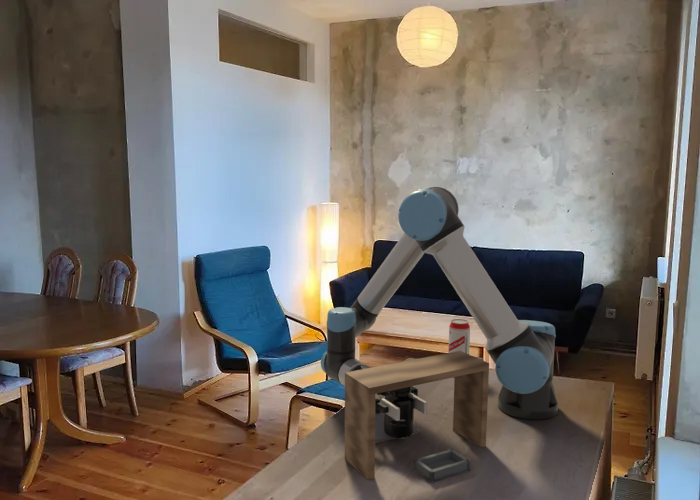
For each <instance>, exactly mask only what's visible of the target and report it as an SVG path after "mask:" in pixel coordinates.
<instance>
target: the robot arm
mask: <svg viewBox="0 0 700 500" xmlns="http://www.w3.org/2000/svg"><path fill="white" fill-rule="evenodd" d="M459 212H460V210H459V203H458V200H457V199H456V197H455V195H454V194H453V193H452V192H451V191H449V190H448V189H446V188H443V187H440V186H433V187H427V188H419V189H416V190H415V191H413V192H411V193H409V194H408V195H407V196H406V197H404V199H403V200H402V202H401V203H400V206H399V209H398V223H399V226H400V228H401V230H402V232H403V234H402V236H401V237H400V238H399V240H398V241H397V242H396V244H394V245H395V246H394V247H393V248H392V249H391V251H390V252H389V253H388V255H387V256H386V258H385V259H384V261H383V262H382V263H381V265H380V266H379V267H378V268H377V270H376V272H375V273H374V274H373V276H372V277H371V278H370V280H369V281H368V283H367V284H366V286H365V287H364V288H363V289H362V291H361V292H360V294H359V295H358V296H357V298H356V299H355V301H354V302H353V303H352V305H351V306H350V307H345V306H344V307H343V306H339V307H333V308H331V309H329V310H328V312H327V318H326V346H327V348H326V350H325V352H324V353H323V354H322V357H321V359H320V368H321V370H322V371H323V372H324V373H325V374H326V375H327V376H328V377H329V378H330V379H332V380H334V381H336V382H337V383H339V384H340V385H342V386H343V387H345V373H346V372H351V371H356V370H362V369H367V368H371V367H370V366H368V364H366V363H364V362H362V361H360V360H358V359H357V358H356V340H357V339H356V338H358V337H359V336H361V335H362V334H363V333H364V332H366V331H368V330H369V329H370V328H372V326H373V325H374V324H375V323H376V320H377V318H378V316H379V314H380V313H381V312H382V310H383V309H384V307H386V305H387V304H388V302H389V301H390V299H391V298H392V297H393V296H394V294H396V291H398V289H399V288H400V286H401V285H402V284H403V282H404V281H405V280H406V279H407V277H408V276H409V274H410V273H411V272H412V271H413V270H414V268H415V267H416V265H417V264H418V262H419V261H420V260H421V259H422V258H423V256H424V255H425V254H427V255H431V256H433V258H434V259H435V261H436V263H437V264H438V266H439V267H440V268H441V270H442V272H443V273H444V274H445V276H446V278H447V280H448V281H449V283H450V284H451V286H452V287H453V289H454V290H455V292H456V294H457V295H458V296H459V298H460V300H461V301H462V302H463V304H464V305H465V307H466V309H467V310H468V312H469V314H470V315H471V317H472V318H473V320H474V321H475V323H476V324H477V326H478V327H479V329H480V331H481V332H482V334H483V335H484V337H485V339H486V344H485V350H486V352H487V353H488V355H489V356H490V358H491V360H492V361H493V362H494V364H495V367H494V370H495V373H496V377H497V379H498V381H499V382H500V384H501V385H502V386H501V389H500V391H499V394H498V396H497V407H498V408H499V409H500V411H502V412H503V413H505V414H508V415H509V416H512V417H514V418H515V417H516V418H519V419H526V420H547V419H551V418H553V417H555V416H556V415H557V414H558V413H559V400H558V397H557V393H556V388H555V386H554V383H553V381H554V380H553V377H554V360H555V345H556V343H555V341H556V337H557V335H556V327H555V326H554V325H553V324H551V323H549V322H545V321H539V320H528V319H518V318H517V316H516V315H515V313H514V312H513V310H512V309H511V307H510V306H509V305H508V303H507V301H506V300H505V298H504V297H503V295H502V293H501V292H500V290H499V289H498V288H497V285H496V284H495V282H494V281H493V280H492V278H491V276H490V275H489V273H488V272H487V270H486V268H484V266H483V264H482V263H481V261H480V260H479V258H478V257H477V255H476V253H475V252H474V251H473V249H472V247H471V246H470V244H469V243H468V241H467V239H466V238H465V237H464V233H465V225H464V224H463V222H462V220H461V219H460V217H459ZM388 392H390V391H387V392H382V393H378V394H375V414H380V412H381V413H386V414H387V415H389V416H390V417H392V418H393V419H395V420H396V421H399V420H400V408H398V407H397V406H395V405H394V404H392V403H390V402H389V401H387V400H386V399H385V396H386V394H387V393H388ZM410 393H411V394H412V395H413V396H414V399H415V403H414V410H416V411H418V412H419V413H421V414H423V415H426V414H428V401H426V400H424V399H423V398H422V397H420V396H419V395H418V394H419V389H418V388H416V387H415V386H411V392H410ZM379 395H380V396H384V398H381V399H380V396H379Z"/></svg>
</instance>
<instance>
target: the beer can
mask: <svg viewBox="0 0 700 500" xmlns="http://www.w3.org/2000/svg"><path fill="white" fill-rule="evenodd" d="M448 327H449V328H448V351H447V353H451V352H457V351H462V352H464V353H467V354H469V355H470V347H471V345H470V344H471V342H470V341H471V326H470V324H469V321H468V320H467V319H462V318H453V319H452V320H451V321H450V323H449V326H448Z"/></svg>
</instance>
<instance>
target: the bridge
mask: <svg viewBox="0 0 700 500" xmlns="http://www.w3.org/2000/svg"><path fill="white" fill-rule="evenodd" d="M489 371H490V363H489V362H488V361H485V360H483V359H480V358H478V357H476V356H473V355H471V354H470V353H469V354H467V353H464V352H462V351H457V352H451V353H448V352H447V353H440V354H436V355H430V356H426V357H420V358H416V359H414V358H413V359H410V360H404V361H400V362H395V363H388V364H384V365H377V366H373V367H370V368H367V369H362V370H356V371H351V372H346V373H345V386H344V460H345V461H346V462H347V463H348V464H350V465H351V466H352V467H354V469H356V470H357V471H358V473H360V474H361V475H362V476H364V478H365V479H367V480H372V479H375V477H376V476H375V475H376V474H375V470H376V469H375V468H376V467H375V466H376V465H375V464H376V463H375V461H376V459H375V457H376V443H375V415H376V413H375V394H378V393H382V392H387V391H392V390H396V389H401V388H406V387H410V386H412V387H415V386H419V385H424V384H427V383H433V382H438V381H443V380H446V379H452V378H454V380H453V381H454V384H453V385H454V386H453V414H452V415H453V417H452V423H453V424H452V431H454V432H455V433H457V434H459V435H460V436H462V437H463V438H465V439H467V440H469V442H471V443H473V444H475V445H476V446H478V447H480V448H483V447H487V429H488V428H487V427H488V425H487V424H488V406H489V405H488V401H489V400H488V398H489V378H490V377H489V376H490V375H489V373H490V372H489Z"/></svg>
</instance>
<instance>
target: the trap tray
mask: <svg viewBox="0 0 700 500" xmlns="http://www.w3.org/2000/svg"><path fill="white" fill-rule="evenodd" d="M413 470H414V471H415V472H417V474H419V475H420V476H422V477H423V478H424V479H426V480H427V481H428V482H429V483H431V484H432V483H434V482H438V481H441V480H444V479H446V478H450V477H454V476H457V475H460V474H463V473H466V472H470V471H471V460H470V459H468V458H467V457H465V456H464V455H462V454H460V453H459V452H458V451H456V450H455V449H453V448H450V449H447V450H444V451H443V450H442V451H440V452H437V453H434V454H430V455H426V456H423V457H419V458H416V459H413Z"/></svg>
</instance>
